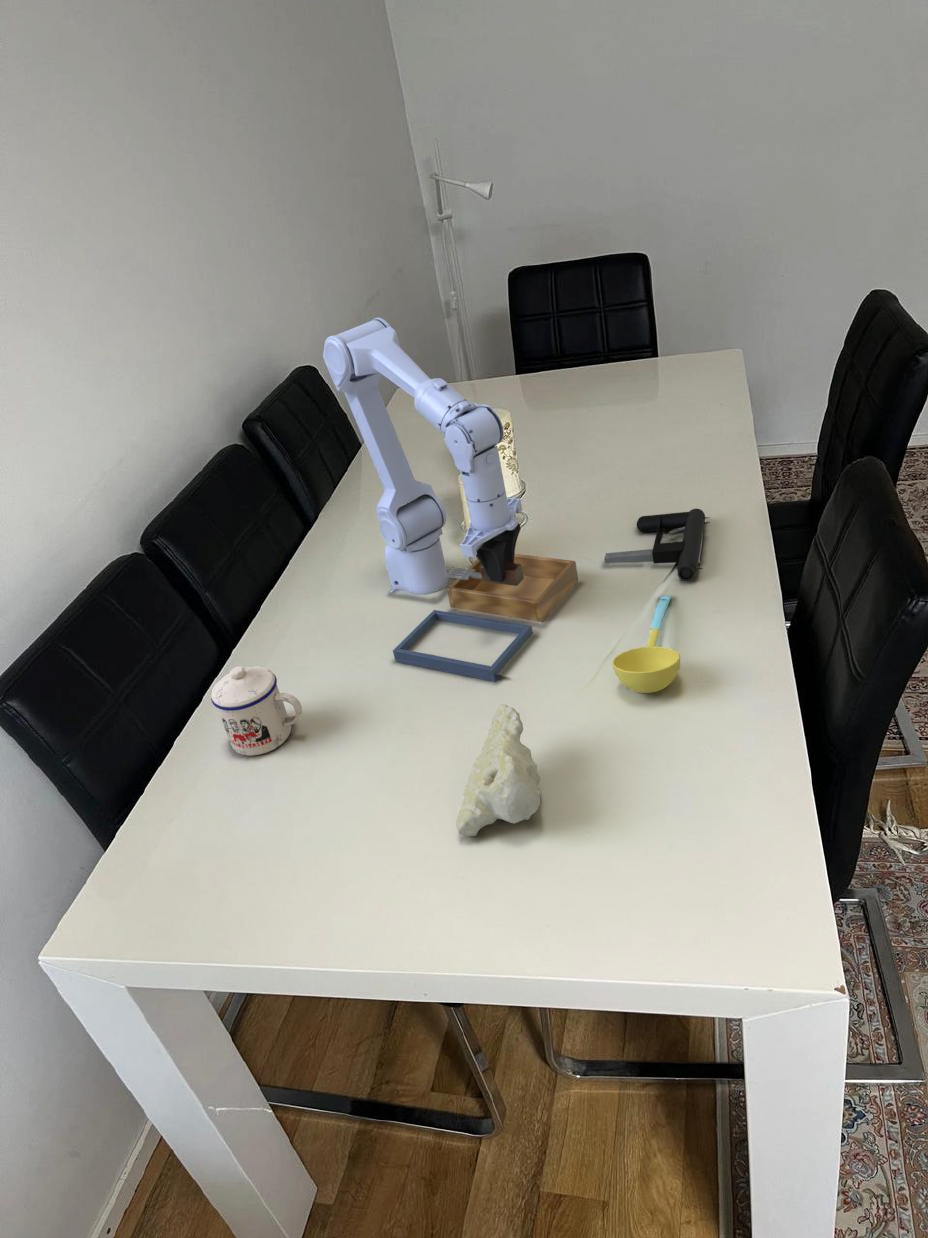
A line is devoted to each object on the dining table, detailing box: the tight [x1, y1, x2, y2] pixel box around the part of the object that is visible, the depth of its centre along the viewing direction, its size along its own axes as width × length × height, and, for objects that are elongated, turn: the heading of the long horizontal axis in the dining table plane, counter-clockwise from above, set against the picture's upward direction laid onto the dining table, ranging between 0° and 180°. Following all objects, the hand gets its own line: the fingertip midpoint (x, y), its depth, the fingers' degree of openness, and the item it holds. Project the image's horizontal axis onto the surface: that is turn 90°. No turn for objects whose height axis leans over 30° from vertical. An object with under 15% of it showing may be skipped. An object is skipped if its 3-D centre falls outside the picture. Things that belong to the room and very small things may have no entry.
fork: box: [445, 562, 524, 586], centre depth 147 cm, size 13×2×3 cm, turn 60°
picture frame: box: [392, 609, 534, 683], centre depth 146 cm, size 18×12×2 cm, turn 59°
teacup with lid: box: [210, 665, 303, 756], centre depth 134 cm, size 12×9×12 cm
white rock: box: [455, 703, 541, 838], centre depth 116 cm, size 15×7×15 cm
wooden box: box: [446, 553, 579, 624], centre depth 155 cm, size 17×13×4 cm
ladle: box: [612, 595, 681, 694], centre depth 137 cm, size 9×26×6 cm, turn 165°
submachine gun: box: [604, 508, 712, 582], centre depth 159 cm, size 3×20×16 cm
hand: (501, 575), depth 146 cm, fingers closed on fork, 2 cm apart
